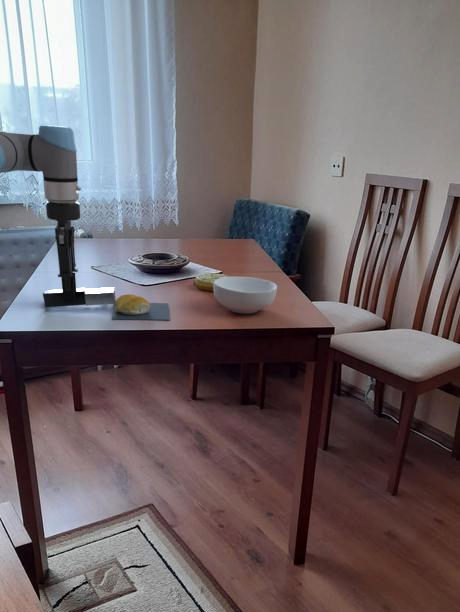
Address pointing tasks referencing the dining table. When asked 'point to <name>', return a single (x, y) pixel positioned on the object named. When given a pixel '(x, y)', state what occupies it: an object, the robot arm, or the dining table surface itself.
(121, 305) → the bread roll
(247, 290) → the cereal bowl
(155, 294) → the dining table surface
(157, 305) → the placemat
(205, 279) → the decorated donut
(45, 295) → the black and grey bar
